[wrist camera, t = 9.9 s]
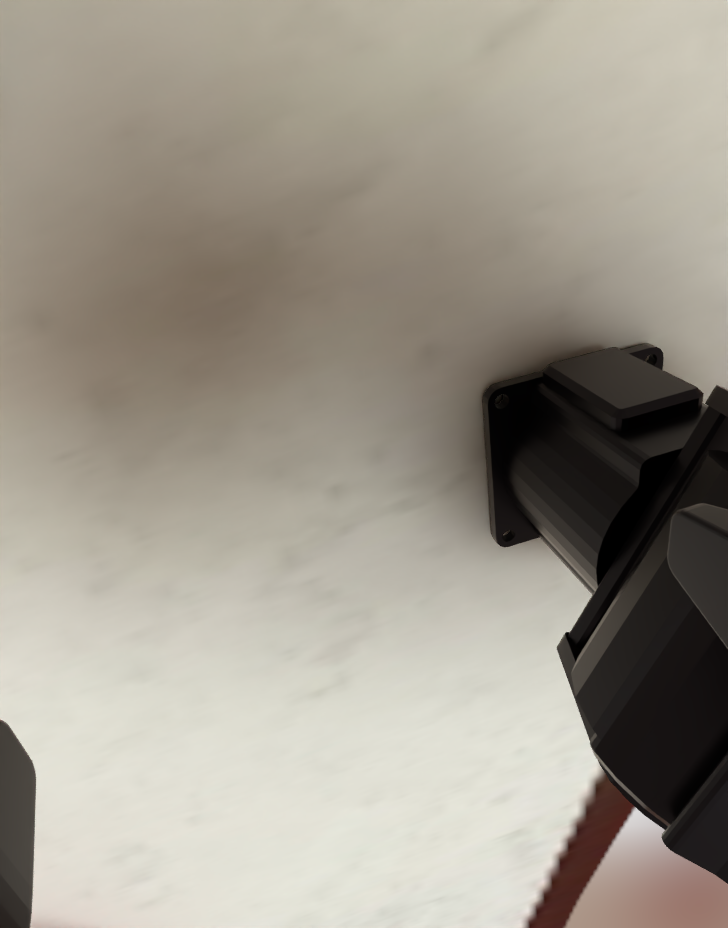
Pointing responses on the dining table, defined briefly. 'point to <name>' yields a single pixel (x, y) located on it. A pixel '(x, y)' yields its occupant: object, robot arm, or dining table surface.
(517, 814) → the dining table surface
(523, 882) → the dining table surface
